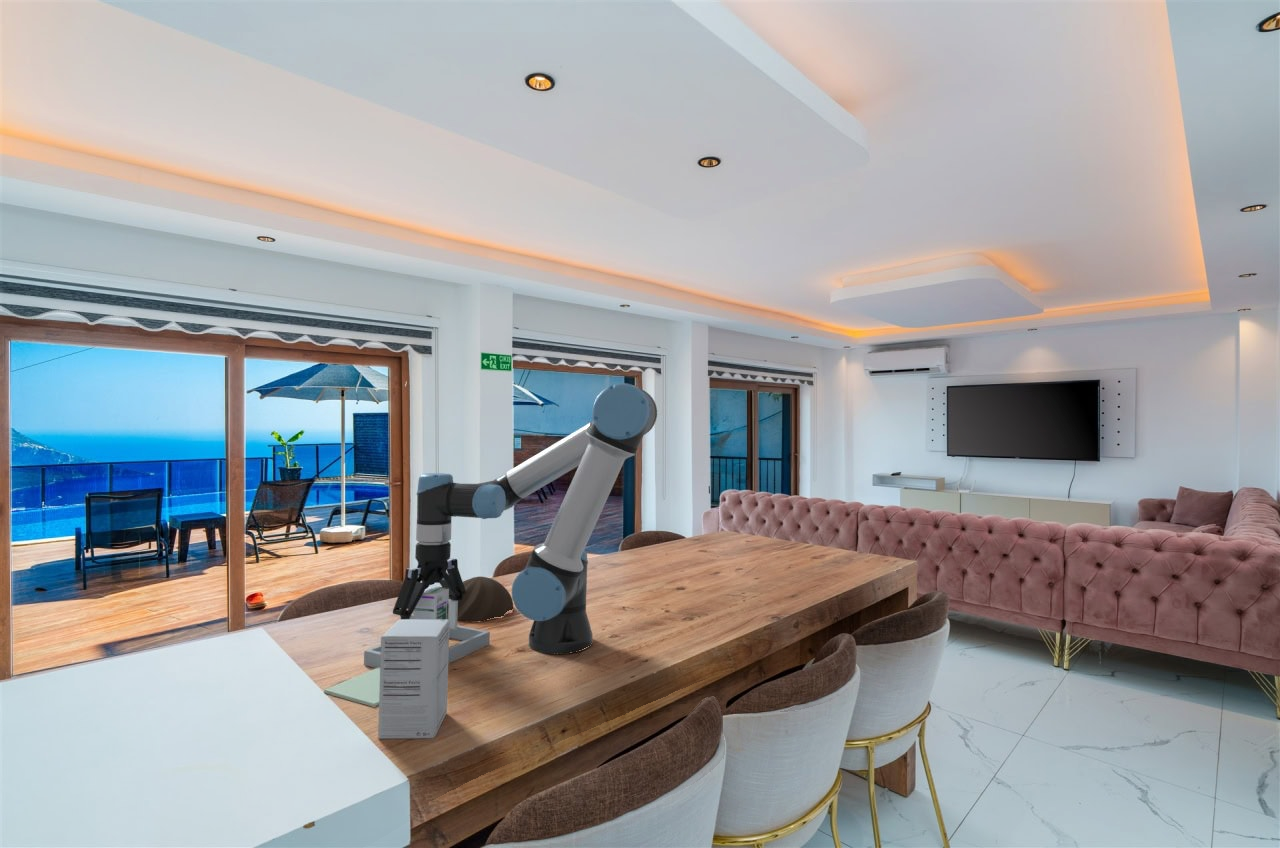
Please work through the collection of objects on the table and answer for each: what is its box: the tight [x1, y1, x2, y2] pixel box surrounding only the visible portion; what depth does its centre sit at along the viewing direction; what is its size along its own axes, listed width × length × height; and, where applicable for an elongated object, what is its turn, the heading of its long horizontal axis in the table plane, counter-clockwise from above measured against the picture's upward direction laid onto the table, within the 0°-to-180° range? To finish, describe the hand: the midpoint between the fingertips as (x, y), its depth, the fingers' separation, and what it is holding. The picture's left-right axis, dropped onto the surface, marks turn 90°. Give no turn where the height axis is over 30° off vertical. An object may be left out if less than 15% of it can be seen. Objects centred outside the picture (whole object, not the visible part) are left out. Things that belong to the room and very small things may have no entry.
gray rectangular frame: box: [363, 624, 491, 669], centre depth 139 cm, size 15×23×3 cm, turn 155°
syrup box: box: [412, 586, 449, 620], centre depth 139 cm, size 6×6×14 cm
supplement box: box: [377, 618, 450, 740], centre depth 105 cm, size 10×9×17 cm
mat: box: [323, 667, 380, 708], centre depth 120 cm, size 13×13×1 cm
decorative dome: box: [449, 576, 514, 622], centre depth 172 cm, size 19×20×10 cm
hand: (430, 636), depth 139 cm, fingers open, 13 cm apart
